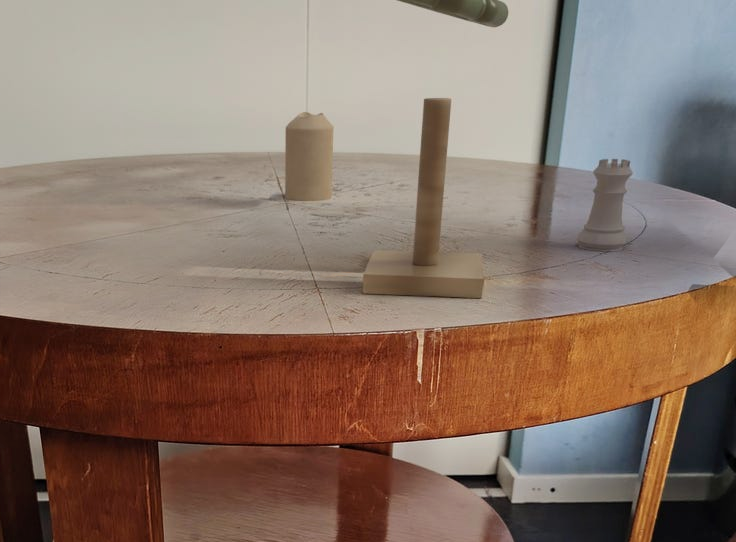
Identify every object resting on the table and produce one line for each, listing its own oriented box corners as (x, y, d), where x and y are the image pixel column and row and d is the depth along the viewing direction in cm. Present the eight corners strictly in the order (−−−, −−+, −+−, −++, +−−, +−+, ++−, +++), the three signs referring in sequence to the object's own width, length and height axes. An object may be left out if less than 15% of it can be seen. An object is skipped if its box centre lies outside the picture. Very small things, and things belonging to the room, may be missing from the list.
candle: (277, 202, 109) (278, 112, 104) (319, 199, 111) (321, 110, 106) (296, 209, 104) (297, 115, 100) (339, 205, 106) (342, 113, 101)
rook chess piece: (619, 262, 78) (636, 164, 74) (567, 257, 80) (581, 161, 76) (630, 253, 81) (647, 159, 78) (580, 248, 83) (594, 156, 80)
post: (479, 271, 76) (498, 95, 69) (481, 298, 68) (502, 102, 62) (372, 267, 77) (381, 95, 71) (362, 293, 69) (371, 102, 63)
